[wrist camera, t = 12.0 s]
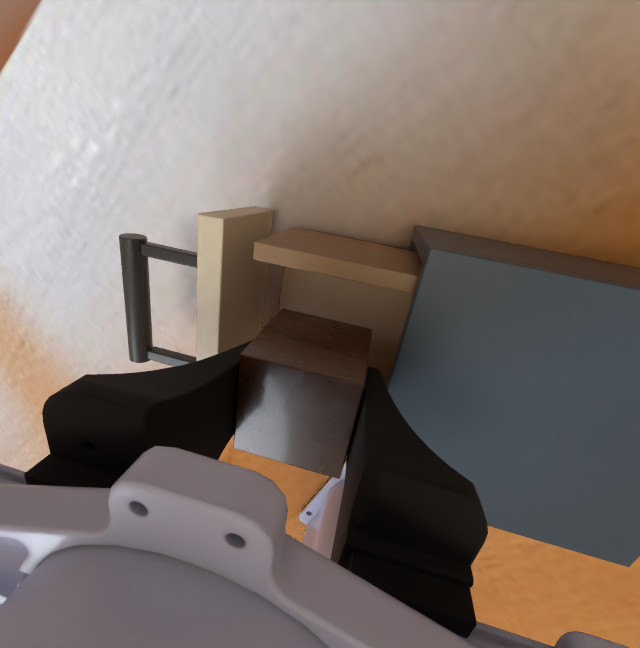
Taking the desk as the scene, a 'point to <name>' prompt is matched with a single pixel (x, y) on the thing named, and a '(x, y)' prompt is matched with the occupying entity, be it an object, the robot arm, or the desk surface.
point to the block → (302, 391)
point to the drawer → (250, 283)
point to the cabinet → (529, 386)
